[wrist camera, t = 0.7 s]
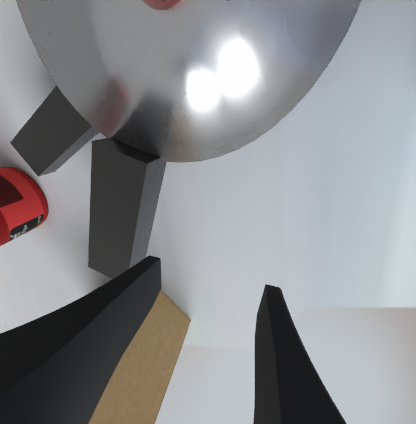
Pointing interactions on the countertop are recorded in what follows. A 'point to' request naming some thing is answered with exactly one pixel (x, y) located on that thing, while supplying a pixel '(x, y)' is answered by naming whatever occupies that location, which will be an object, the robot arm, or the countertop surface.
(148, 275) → the robot arm
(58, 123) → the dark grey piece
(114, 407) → the sandwich container
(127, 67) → the cooker lid
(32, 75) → the countertop surface
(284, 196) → the countertop surface
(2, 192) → the canned food
